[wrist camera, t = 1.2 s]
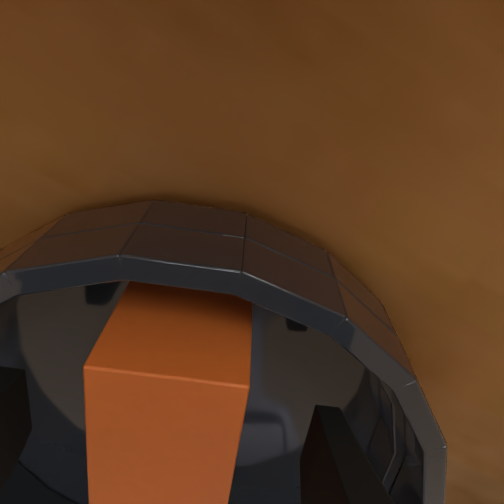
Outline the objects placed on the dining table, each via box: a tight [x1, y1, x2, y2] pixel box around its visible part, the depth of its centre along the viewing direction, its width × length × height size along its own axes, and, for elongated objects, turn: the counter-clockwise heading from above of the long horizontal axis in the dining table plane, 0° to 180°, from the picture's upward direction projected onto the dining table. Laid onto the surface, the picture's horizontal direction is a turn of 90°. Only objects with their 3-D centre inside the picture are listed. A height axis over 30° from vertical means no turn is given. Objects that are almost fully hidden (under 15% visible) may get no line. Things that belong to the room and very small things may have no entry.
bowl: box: [0, 200, 447, 504], centre depth 13 cm, size 15×15×4 cm
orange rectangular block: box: [83, 281, 253, 504], centre depth 12 cm, size 5×3×4 cm
